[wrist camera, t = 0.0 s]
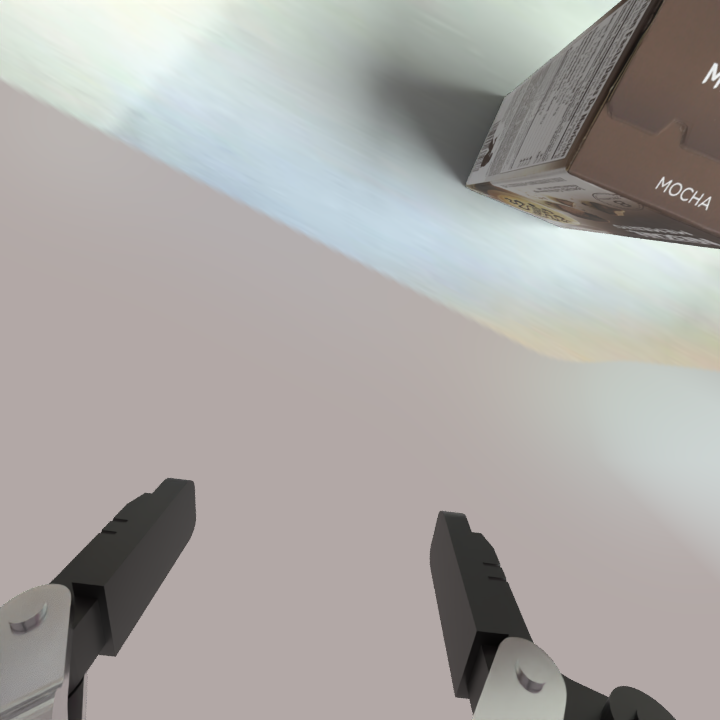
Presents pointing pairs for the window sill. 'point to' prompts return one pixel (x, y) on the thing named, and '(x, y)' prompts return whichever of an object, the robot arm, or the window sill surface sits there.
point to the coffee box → (618, 129)
